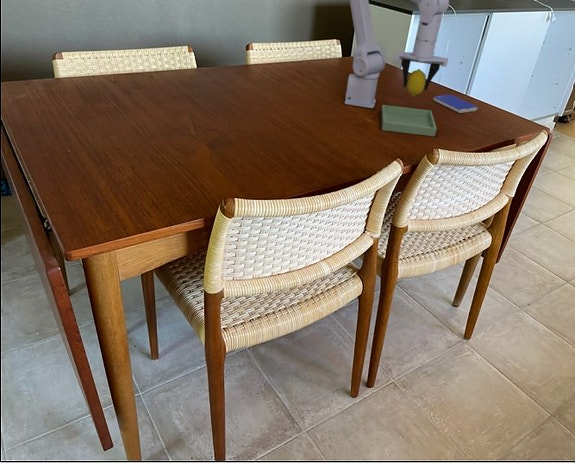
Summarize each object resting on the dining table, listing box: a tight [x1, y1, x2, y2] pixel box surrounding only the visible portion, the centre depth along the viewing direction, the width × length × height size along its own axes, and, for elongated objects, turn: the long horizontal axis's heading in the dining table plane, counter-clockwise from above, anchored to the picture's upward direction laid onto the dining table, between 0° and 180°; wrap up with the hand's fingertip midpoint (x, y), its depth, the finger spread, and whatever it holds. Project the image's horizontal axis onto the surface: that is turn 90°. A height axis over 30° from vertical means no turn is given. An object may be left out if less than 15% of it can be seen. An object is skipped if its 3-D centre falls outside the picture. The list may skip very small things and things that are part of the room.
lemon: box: [405, 68, 427, 97], centre depth 138 cm, size 6×6×8 cm
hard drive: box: [432, 94, 478, 114], centre depth 158 cm, size 2×8×12 cm
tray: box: [380, 104, 438, 137], centre depth 141 cm, size 15×15×2 cm
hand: (414, 87), depth 139 cm, fingers closed on lemon, 5 cm apart
